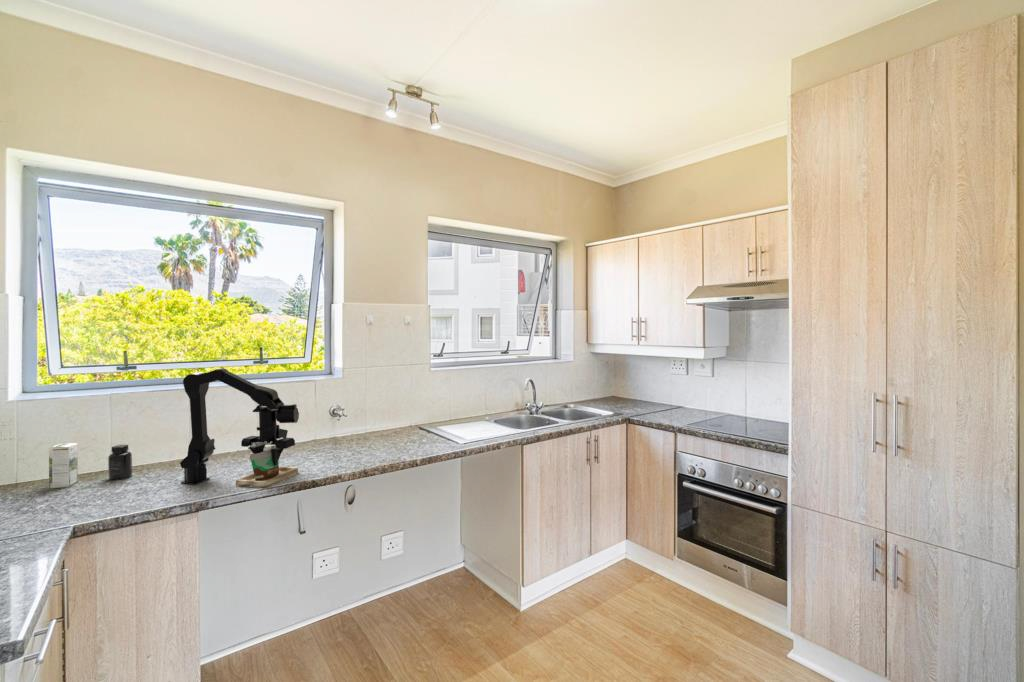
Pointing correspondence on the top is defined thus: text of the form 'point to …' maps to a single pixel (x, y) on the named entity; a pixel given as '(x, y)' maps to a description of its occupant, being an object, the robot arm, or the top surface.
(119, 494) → the top surface
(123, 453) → the supplement bottle
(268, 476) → the food container
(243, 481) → the wooden tray
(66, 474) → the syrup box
